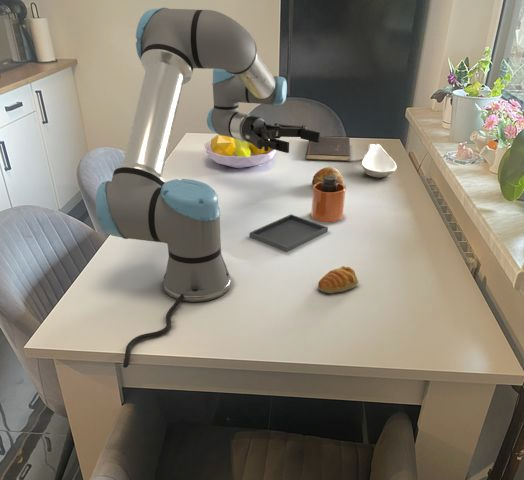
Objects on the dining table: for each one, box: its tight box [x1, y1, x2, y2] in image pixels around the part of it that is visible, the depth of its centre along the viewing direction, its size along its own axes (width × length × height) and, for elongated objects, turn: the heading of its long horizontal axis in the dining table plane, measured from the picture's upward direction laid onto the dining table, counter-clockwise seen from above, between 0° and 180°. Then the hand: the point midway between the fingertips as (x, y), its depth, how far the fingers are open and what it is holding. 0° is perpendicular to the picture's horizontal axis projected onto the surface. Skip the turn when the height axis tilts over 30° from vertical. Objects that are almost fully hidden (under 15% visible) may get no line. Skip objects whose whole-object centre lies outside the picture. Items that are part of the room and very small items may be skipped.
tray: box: [249, 214, 329, 253], centre depth 147 cm, size 17×13×2 cm
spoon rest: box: [361, 143, 398, 179], centre depth 189 cm, size 24×12×7 cm, turn 0°
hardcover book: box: [305, 136, 351, 163], centre depth 207 cm, size 16×23×2 cm
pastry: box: [317, 265, 359, 294], centre depth 124 cm, size 9×7×4 cm
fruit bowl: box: [203, 134, 278, 169], centre depth 195 cm, size 28×27×11 cm
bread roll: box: [311, 166, 344, 186], centre depth 176 cm, size 10×10×8 cm
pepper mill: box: [321, 176, 338, 192], centre depth 154 cm, size 4×4×11 cm
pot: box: [311, 182, 346, 223], centre depth 155 cm, size 9×9×9 cm
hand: (304, 142), depth 151 cm, fingers open, 13 cm apart
